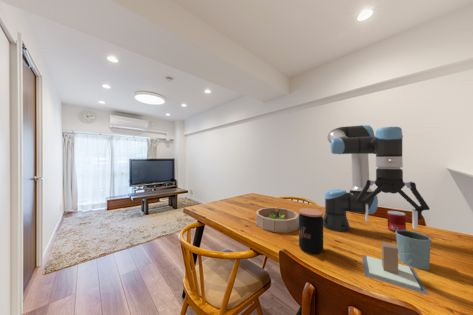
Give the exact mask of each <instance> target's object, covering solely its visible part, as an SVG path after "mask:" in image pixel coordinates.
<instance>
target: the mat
mask: <svg viewBox="0 0 473 315" xmlns="http://www.w3.org/2000/svg"><path fill="white" fill-rule="evenodd" d="M367 256H368V255H361V258H362V263H363V264H362V265H363V271H364V272H363V273H364V276H365V277H368V278H371V279H374V280H377V281H381V282H385V283H386V284H391V285H394V286H398V287H400V288H403V289H406V290H411V291H413V292H416V293H417V292H418V293H420V294H423V295H427V296H430V294H429V293H428V291H427V289H426V287H425V285H424V284H423V283H422V281H421V278H420V277H419V276H418V274H417V272H416V270H415V268H414V267H411V266H409V268H410V270H411V271H412V273H413V275H414V277H415V279H416V280H417V282H418V284H419V286H420V288H421V290H419V289H415V288H412V287H409V286H405V285H402V284H398V283H395V282H392V281H388V280H385V279H382V278H378V277H375V276H372V275H370V274H369V269H368V263H367Z"/></svg>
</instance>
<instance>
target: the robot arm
mask: <svg viewBox="0 0 473 315" xmlns="http://www.w3.org/2000/svg"><path fill="white" fill-rule="evenodd" d="M403 137H404V135H403V129H402V128H401V127H399V126H386V127H380V128H377V129H376V130H375V132H374V129H373V127H372V126H370V125H366V124H365V125H364V124H361V125H351V126H350V125H349V126H340V127H337V128H334V129H332V130H331V131H330V132H329V133H328V134H327V141H328V142H329V143H330V152H331V154H333V155H350V154H351V183H352V184H351V185H352V187H351V188H350V189H349V192H347V190H345V189H336V188H335V189H329V190H327V191H325V193H324V194H325V195H324V206H325V207H324V214H323V215H324V216H323V228H326V229H329V230H332V231H335V232H348V231H350V230H351V229H350V228H351V226H350V222H349V220H348V217H347V213H359V214H365V219H364V220H365V222H366V223H369V215H373V214H375V213H376V211H377V210H378V206H379V204H378V203H379V199H378V195H379V194H380V193H381V192H382V193H384V194H397V193H398V194H399V195H400V196H401V197H403V199H404V200H405V201H406V202H408V203H409V205H411V206H412V207H413V208H414V209H413V208H412V209H411V216H412V217H411V220H412V221H411V222H412V223H411V225H412V228H413V230H414V231H415V230H416V231H418V229H419V228H418V227H419V223H418V222H419V221H422V216H423V215H422V212H423V211H429V210H430V206H429V205H428V204H427V202H426V201H425V199H424V197H423V196H422V195H421V194H420V192H419V191H418V190H417V186H416V185H417V184H416V182H413V181H409V182H404V174H403V173H404V172H403V169H402V168H403V167H404V166H403ZM369 154H370V155H372V154H373V155H375V167H376V169H375V180H372V179H371V180H370V166H369V165H370V163H369ZM373 185H375V186H376V188H375V189H374V190H372V189H371V187H372V186H373ZM404 187H406V188H408V189H409V190H410V191H411V193H412V195H413V196H414V198H415V199H416V200H417V202H418V203H419V204H420V205H418V204H417V203H416V202H415V201H414V200H413V199H412V198H411V197H410V196H409V195H408V194H406V193H405V192H404V191H403V190H402V189H403V188H404Z"/></svg>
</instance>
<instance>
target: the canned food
mask: <svg viewBox="0 0 473 315" xmlns="http://www.w3.org/2000/svg"><path fill="white" fill-rule="evenodd" d="M406 217H407V215H406V213H405V212H401V211H397V210H387V230H388V231H390V232H391V233H392V232H393V233H396V230H407V225H406V224H407V221H406V220H407V218H406Z"/></svg>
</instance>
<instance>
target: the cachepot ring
mask: <svg viewBox="0 0 473 315" xmlns="http://www.w3.org/2000/svg"><path fill="white" fill-rule="evenodd" d="M276 209H278V210H279V209H280V210H281V212H280V211H279V214H280V217H281V216H282V215H285V216H284V218H289V219H286V220H281V219H271V218H266V217H269V216H270V215H272V216H273V214H274V215H275V213H277V212H276ZM269 211H274V212H275V213H274V212H271V213H270V212H269ZM255 213H256V214H255V221H256V222H255V224H256V226H258V228H260V229H262V230H265V231H268V232H273V233H290V232H294V231H297V230H298V229H299V213H298V212H296V211H295V210H291V209H289V208H284V207H283V208H282V207H272V206H270V207H261V208H259V209H258V210H256V211H255Z"/></svg>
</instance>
